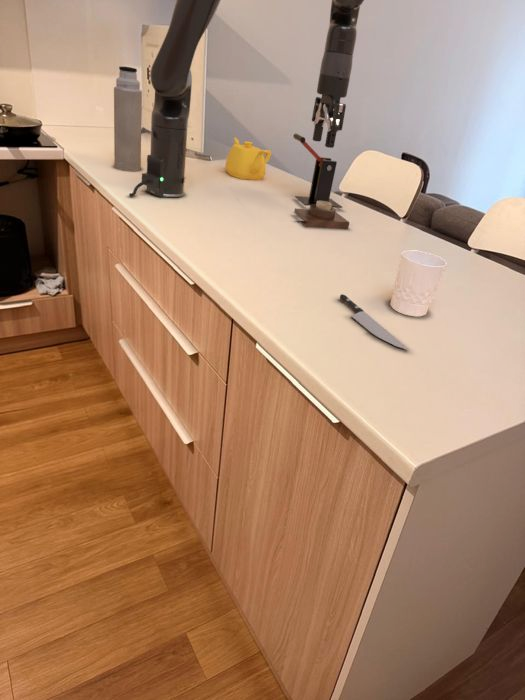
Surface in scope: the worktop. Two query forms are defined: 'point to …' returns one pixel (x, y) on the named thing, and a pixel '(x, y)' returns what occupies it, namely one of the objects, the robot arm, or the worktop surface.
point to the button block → (321, 218)
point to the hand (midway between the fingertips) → (322, 144)
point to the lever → (308, 147)
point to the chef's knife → (371, 323)
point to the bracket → (321, 183)
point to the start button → (323, 205)
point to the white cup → (416, 282)
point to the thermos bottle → (127, 120)
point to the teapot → (247, 161)
